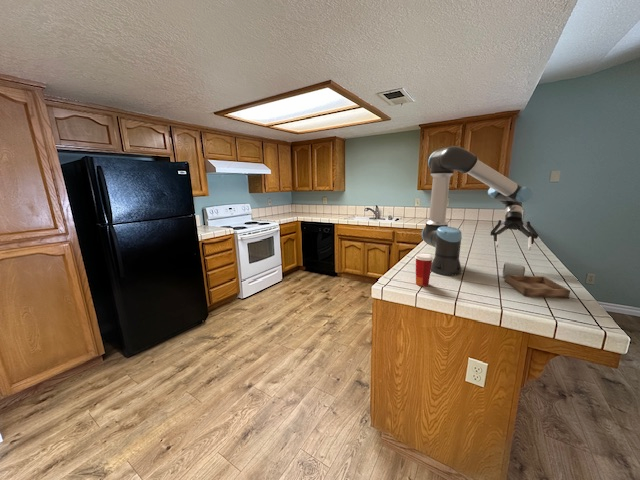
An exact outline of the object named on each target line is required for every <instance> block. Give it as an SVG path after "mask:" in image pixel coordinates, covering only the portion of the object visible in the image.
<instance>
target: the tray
mask: <svg viewBox="0 0 640 480" xmlns="http://www.w3.org/2000/svg"><path fill="white" fill-rule="evenodd" d="M504 283H505V284H507V286H510V287H511V288H512V289H514V290H515V291H516V292H518V293H519V294H521V295H522V296H523V297H534V298H535V297H537V298H550V299H551V298H552V299H569V298H570V293H571V290H570V289H567V288H566V287H564V286H562V285H560V284H559V283H556V282H555V281H553V280H552V279H550V278H548V277H546V276H538V275H536V276H535V275H524V276H517V275H506V276H505V278H504Z"/></svg>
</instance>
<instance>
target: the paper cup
mask: <svg viewBox="0 0 640 480" xmlns="http://www.w3.org/2000/svg"><path fill="white" fill-rule="evenodd" d="M414 258H415V284H416V285H417V286H419V287H428V286H429V284H430V278H431V277H430V276H431V272H432V271H431V264H432V261H433V259H434V257H433V256H432V255H431V254H429V253H417V254H416V255H415V257H414Z"/></svg>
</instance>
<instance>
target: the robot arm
mask: <svg viewBox="0 0 640 480" xmlns="http://www.w3.org/2000/svg"><path fill="white" fill-rule="evenodd" d="M427 166H428V168H429V170H430V176H431V177H432V185H431V193H430V194H431V195H430V205H429V213H428V214H429V216H428V220H427V221H426V222H425V226H424V227H423V229H422V231H421V238H422V240H423V242H425V243H426V244H427V245H429V246H431V247H434V248H435V250H434V251H435V252H434V256H433V260H432V264H431V271H430V272H433V273H435V274H437V275H443V276H451V277H452V276H453V277H454V276H460V275H461V274H462V271H463V270H462V269H463V268H462V265H461V261H460V254H461V243H462V235H463V234H462V231H461V229H460V228H457V227H453V226H448V225H449V223H448V222H447V221H446V218H447V217H446V216H447V210H448V209H447V208H448V201H449V200H448V198H449V190H450V189H449V188H450V180H451V177H452V176H454V173H455V171H457V172H459V173H462V174H464V175H465V174H468V175H469V176H471V177H472V178H474V179H476V180H478V181H480V182H481V183H483V184H485V186H488V187H489V189H488V190H487V194H488V197H491V198H492V199H494V200H496V201H498V202H499V203H501V204H502V205H504V206H505V213H504V215H505V216H504V217H505V218H504V220H503V221H502V220H500V219H499V220H498V222H497V224H496V225H495V226H494V227H493V229H492V230H491V231H490V234H489V235H490V236H493V241H494V242H495V248H499V243H500V242H499V241H500V235H501V234H502V233H504V232H505V231H507V230H510V231H511V230H512V231H513V230H514V231H517V230H518V231H519V232H521V233H522V234H524V236H526V237H527V245H528V248H527V250H528V251H531V249H532V245H533V244H534V243H535V239H536V240H537V239H538V237H539V234H538V232H537V231H536V230H535V229H534V227H533V226H532V225H531V222H530V221H527V222H523V203H527V202H528V201H529V202H530V200H531V199H532V198H533V196H534V190H533V189H532V188H531V187H527V186H521V185H519V183H517V182H515V181H513V180H512V179H510V178H508V177H507V176H505V175H503V174H502V173H500V172H499V171H497V170H495V169H494V168H492V167H491V166H489V165H487V164H486V163H485V162H483V161H481V160H480V159H479V157H478V155H475V154H474V153H472V152H471V151H470V150H467V149H465V148H464V147H461V146H456V145H451V146H448V147H444V148H443V147H442V148H439V149H437V150H435V151H433V152H432V153H431V154H430V156H429V158H428V161H427ZM502 225H504V226H502ZM501 226H502V227H501ZM500 227H501V228H500ZM499 228H500V229H499Z"/></svg>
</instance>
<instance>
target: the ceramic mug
mask: <svg viewBox="0 0 640 480" xmlns="http://www.w3.org/2000/svg"><path fill="white" fill-rule="evenodd" d="M525 274H526V267H525V266H524V265H521V264H517V263H511V262H504V264H503V268H502V274H501V275H502V278H504V279H505V276H506V275H517V276H526V275H525Z"/></svg>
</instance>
